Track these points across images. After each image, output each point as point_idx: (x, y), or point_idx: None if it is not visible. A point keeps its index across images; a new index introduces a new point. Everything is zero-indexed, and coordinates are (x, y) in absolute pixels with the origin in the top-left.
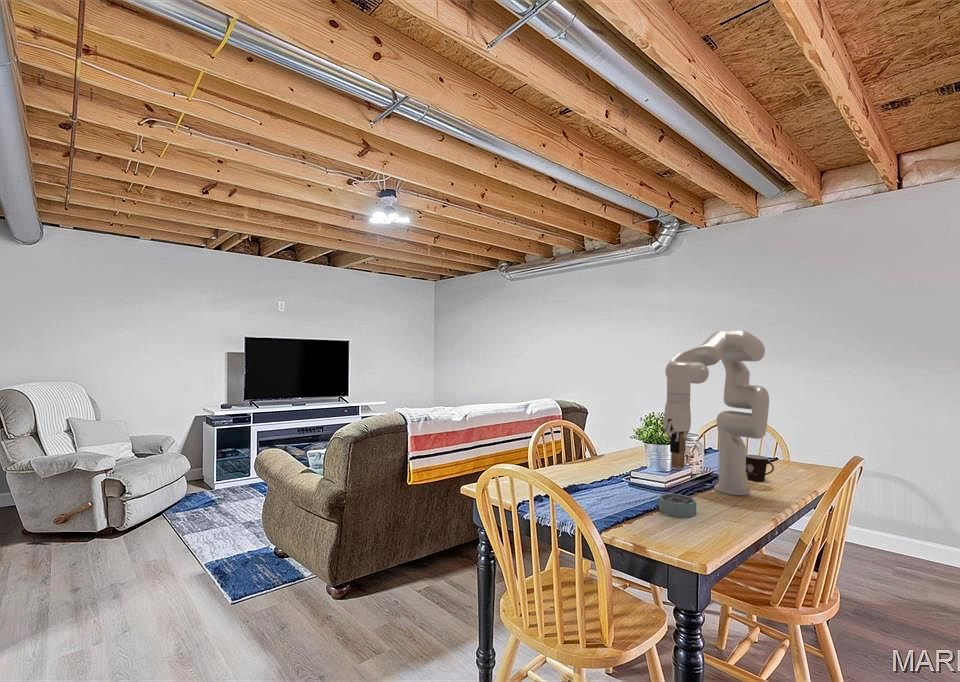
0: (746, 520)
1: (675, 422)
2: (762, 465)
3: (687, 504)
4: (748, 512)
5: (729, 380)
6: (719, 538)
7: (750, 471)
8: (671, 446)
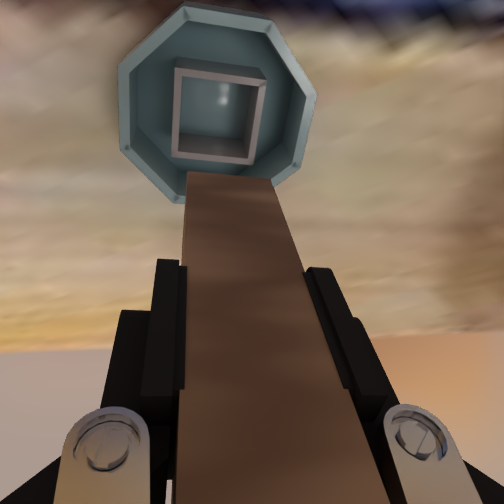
0: None
1: None
2: None
3: (167, 197)
4: (409, 282)
5: None
6: (68, 314)
7: None
8: (116, 345)
